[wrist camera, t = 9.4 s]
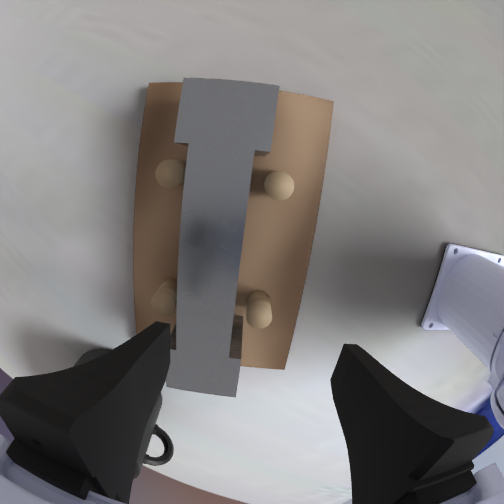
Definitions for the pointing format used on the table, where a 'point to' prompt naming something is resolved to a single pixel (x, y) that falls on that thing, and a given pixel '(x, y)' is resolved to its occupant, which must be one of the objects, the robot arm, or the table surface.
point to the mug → (149, 429)
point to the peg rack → (256, 225)
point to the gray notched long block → (215, 226)
